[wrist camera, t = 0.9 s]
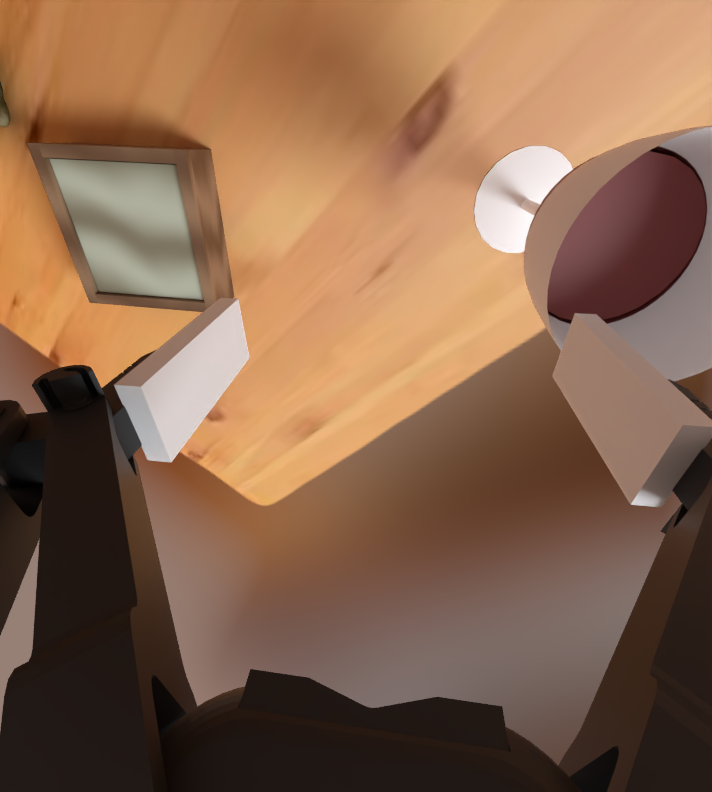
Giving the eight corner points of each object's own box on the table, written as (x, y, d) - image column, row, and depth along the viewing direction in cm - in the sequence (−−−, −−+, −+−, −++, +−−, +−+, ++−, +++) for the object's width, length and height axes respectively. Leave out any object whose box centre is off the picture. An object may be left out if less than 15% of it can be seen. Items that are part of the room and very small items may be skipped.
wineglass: (488, 275, 37) (569, 409, 18) (456, 171, 32) (522, 208, 14) (587, 233, 34) (810, 344, 15) (568, 112, 29) (856, 52, 10)
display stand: (69, 142, 35) (26, 142, 31) (210, 149, 34) (184, 150, 30) (119, 288, 43) (89, 302, 39) (234, 297, 42) (216, 313, 38)
